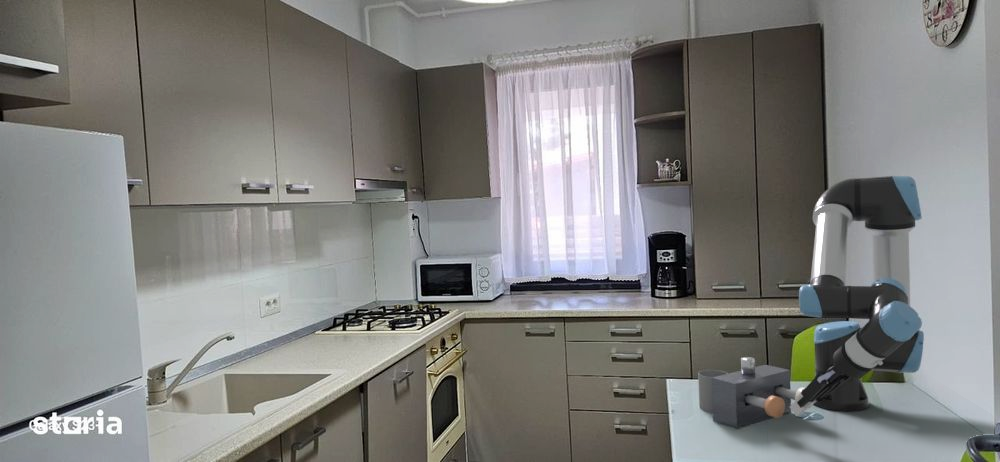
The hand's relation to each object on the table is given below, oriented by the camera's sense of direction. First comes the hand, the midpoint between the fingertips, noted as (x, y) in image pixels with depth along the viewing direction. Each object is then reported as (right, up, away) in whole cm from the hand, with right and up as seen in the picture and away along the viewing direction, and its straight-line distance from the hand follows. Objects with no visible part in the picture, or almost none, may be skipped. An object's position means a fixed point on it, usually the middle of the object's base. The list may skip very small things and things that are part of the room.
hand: (794, 411), depth 161 cm
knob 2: (+6, -2, +14) cm, 16 cm away
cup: (-11, -7, +28) cm, 31 cm away
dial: (-4, +5, +19) cm, 20 cm away
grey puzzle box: (-3, -7, +19) cm, 20 cm away
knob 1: (-5, -3, +9) cm, 10 cm away
